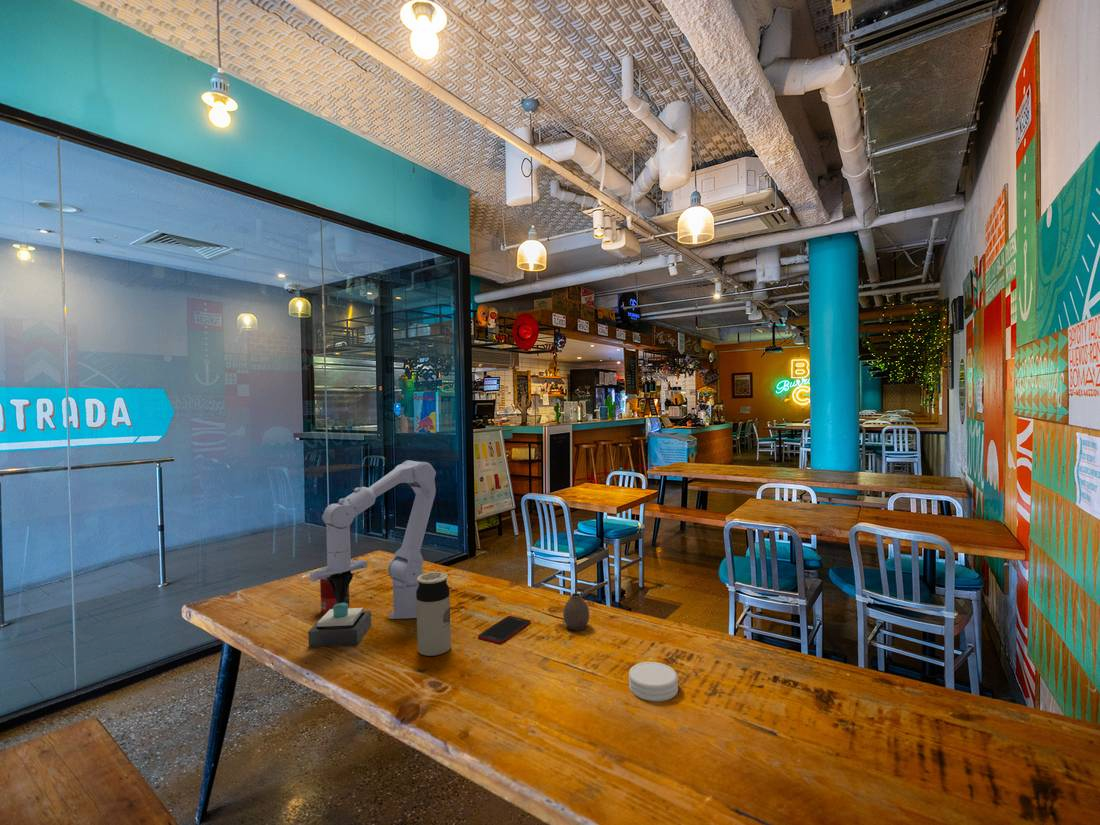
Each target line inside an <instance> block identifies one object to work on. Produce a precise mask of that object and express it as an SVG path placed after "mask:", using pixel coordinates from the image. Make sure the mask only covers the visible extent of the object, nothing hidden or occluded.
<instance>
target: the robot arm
mask: <svg viewBox="0 0 1100 825" xmlns="http://www.w3.org/2000/svg"><path fill="white" fill-rule="evenodd" d="M436 474H437V472H436V470H435V468H434V467H433V465H432V464H431V463H429V462H426V461H415V460H410V459H408V460H405V461H403V462H402V463H401V464H397V465H396V466H395V467H394V469H392V470H391V471H389V472H388V473H387V474H385V475H384V476H383V477H382V478H380V479H379V480H377V481H376V482H374V483H372V484H371V485H370V486H369V487H366V486H361V487H355V488H354V489H353V492H352V493H351V494H348V495H347V496H346V497H343V498H339V500H338V502H337V503H331V504H329V505H328V506H327V507H325V509H324V511H323V514H322V515H321V520H322V521H323V523H324V524H325V525H326V526H325V527H326V556H327V557H326V561H327V564H326V565H327V566H325V567H323V568H321V569H318V570H315V571H311V572H309V581H311V582H312V583H315V582H317V581H319V580H320V579H323V578H327V580H328V582H329V583H330V585H331V587H332V589H333V592H334V595H335V598H336V602H338V603H342V602H344V601H345V596H346V592H347V589H348V586H349V587H350V583H351V581H352V580H353V577H354V574H353V573H352V572H353V571H356V570H361V569H362V570H364V569H367V568H368V560H365V559H359V560H355V561H352V560H351V557H352V556H351V555H352V554H351V553H352V552H351V551H352V550H351V529H350V528H351V527H350V526H351V525H352V523H353V521H354V519H355V518H356V517H357V516H358V515H360V514H361V513H363V512H365V511H366V510H367V509H368V508H370V507H372V506H373V505H374V504H375V503H376V499H377V497H379V496H381V495H383V494H384V493H386V492H387V491H389V490H390V489H392V488H394V487H396V486H397V485H399V484H405V483H406V484H407V485H409V486H410V488H411V489H412V490H413V492H414V494H415V497H414V500H413V503H412V504H413V505H412V508H411V512H410V515H409V519H408V522H407V524H406V525H407V526H406V529H405V534H404V536H403V541H402V544H401V547H400V548H398V549H397V550H396V551H395V552H394V556H393V558H392V560H391V561H390V562H389V564H388V566H387V572H388V576H389V577H391V579H392V580H391V581H392V600H393V601H392V604H393V605H392V606H393V607H392V608H393V611H392V613H391V614H390V616H389V617H388V618H389V620H400V619H401V620H402V619H403V620H404V619H417V604H416V591H417V588H418V586H419V583H418V581H417V577H418V576H420V575H422V574H424V573H423V572H424V569H423V563H424V558H423V556H422V553H421V548H422V544H423V542H424V538H425V534H426V530H427V526H428V523H429V518H430V515H431V511H432V508H433V504H434V500H435V497H436V492H437V490H436V481H435V478H436V476H437V475H436Z"/></svg>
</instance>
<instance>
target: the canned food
mask: <svg viewBox="0 0 1100 825" xmlns="http://www.w3.org/2000/svg"><path fill="white" fill-rule="evenodd" d="M319 580H320V581H319V588H320V589H319V590H320V611H321V613H322V614H323V615H325V614H326V613H327V612H328V611H329V610H330V609H333V606H334V605H336V604H339V603H338V602H336V598H335V595H334V592H333V589H332V587H331V585H330V583H329V582H328V580H327V578H323V579H319ZM342 603H347V604H348V608H350V585H349V586H348V589H347V592H346V596H345V601H344V602H342Z"/></svg>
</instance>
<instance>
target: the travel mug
mask: <svg viewBox="0 0 1100 825" xmlns="http://www.w3.org/2000/svg"><path fill="white" fill-rule="evenodd" d="M448 578H449V575H448V573H446V572H442V571H431V572H429V571H428V572H425V573H423V574H422V575H420V576H418V577H417V581H418V583H419V586H418V588H417V591H416V604H417V618H416V633H417V637H416V638H417V652H418V653H419V654H420V655H423V656H428V657H435V656H440V655H443V654H445V653H447V652H448V651H449V650H450V649H451V647H452V644H451V643H452V642H451V641H452V638H451V636H452V635H451V634H452V633H451V632H452V631H451V603H450V602H451V601H450V587H449V584H448V582H447V581H448Z"/></svg>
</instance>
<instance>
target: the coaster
mask: <svg viewBox="0 0 1100 825" xmlns="http://www.w3.org/2000/svg"><path fill="white" fill-rule="evenodd" d="M628 671H629V672H628V682H629V683H628V686H629V689H630V692H631V693H632V694H633V695H635V696H636V697H638V698H640V699H642V700H644V701H649V702H664V701H668V700H671V699H673V698H674V697H675V696H677V694H678V691H679V687H678V685H679V681H678V678H679V675H678V673H677V672H676V670H674V669H673V668H672V667H671V666H669V665H667V664H665V663H661V662H658V661H657V662H656V661H643V662H639V663H637V664H634V665H633V666H632V667H630V669H629V670H628Z"/></svg>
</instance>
